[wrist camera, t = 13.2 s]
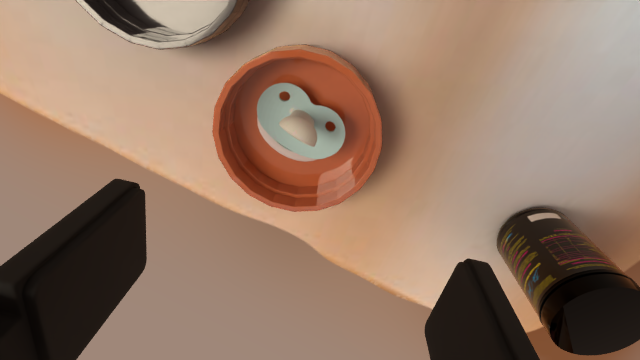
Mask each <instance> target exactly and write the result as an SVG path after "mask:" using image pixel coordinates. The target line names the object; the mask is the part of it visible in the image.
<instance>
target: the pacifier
mask: <svg viewBox="0 0 640 360" xmlns="http://www.w3.org/2000/svg"><path fill="white" fill-rule="evenodd" d="M283 91H286V92H288V93H289V94H290V99H289V100H286V101H284V100H282V99H281V98H280V96H279V94H280V93H281V92H283ZM257 116H258V118H257V123H258V128H259V131H260V133H261V135H262V136H263V138H264V139H265V141H266V142H267V143H268V144H269V145H270V146H271V147H272V148H273V149H274V150H276V151H277V152H279V153H280V154H282V155H284V156H286V157H288V158H291V159H294V160H297V161H304V162H307V161H315V160H317V159H323V158H327V157H329V156H332V155H333V154H335V153H336V152H337V151H338V150H339V149H340V148H341V147H342V145H343V143H344V139H345V127H344V124H343V121H342V119H341V118H340V116H339V115H338V114H337V113H336V112H335V111H333V110H332V109H330V108H328V107H325V106H321V105H314V104H313V103H311V101H310V99H309V97H308V95H307V94H306V93H305V92H304V91H303V90H302V89H301V88H300V87H298V86H296V85H294V84H291V83H278V84H274V85H272V86H270V87H269V88H267V89H266V90H265V91H264V92H263V93H262V95H261V96H260V98H259V101H258V104H257ZM328 121H331V122H333V123H334V124H335V127H336V128H335V130H333V131H329V130H327V129H326V126H325V124H326V123H327V122H328Z"/></svg>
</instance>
